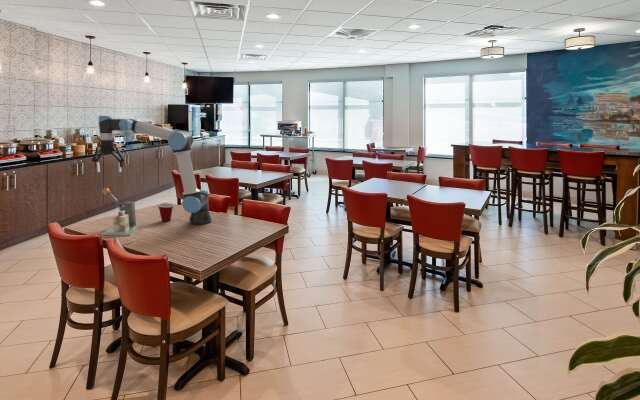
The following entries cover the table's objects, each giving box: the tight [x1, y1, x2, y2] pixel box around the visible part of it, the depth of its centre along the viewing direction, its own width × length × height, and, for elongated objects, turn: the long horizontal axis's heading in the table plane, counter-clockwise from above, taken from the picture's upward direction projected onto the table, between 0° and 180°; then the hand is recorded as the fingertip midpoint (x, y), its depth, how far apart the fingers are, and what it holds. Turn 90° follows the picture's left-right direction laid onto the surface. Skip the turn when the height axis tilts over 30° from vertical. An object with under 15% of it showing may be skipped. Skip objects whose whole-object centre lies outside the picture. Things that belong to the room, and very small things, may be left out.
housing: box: [112, 210, 129, 231], centre depth 258 cm, size 7×7×12 cm
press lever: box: [102, 187, 124, 212], centre depth 270 cm, size 4×4×18 cm
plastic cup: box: [157, 202, 175, 223], centre depth 288 cm, size 11×11×12 cm
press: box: [102, 201, 140, 237], centre depth 263 cm, size 16×26×16 cm, turn 5°
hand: (109, 172), depth 270 cm, fingers open, 13 cm apart
